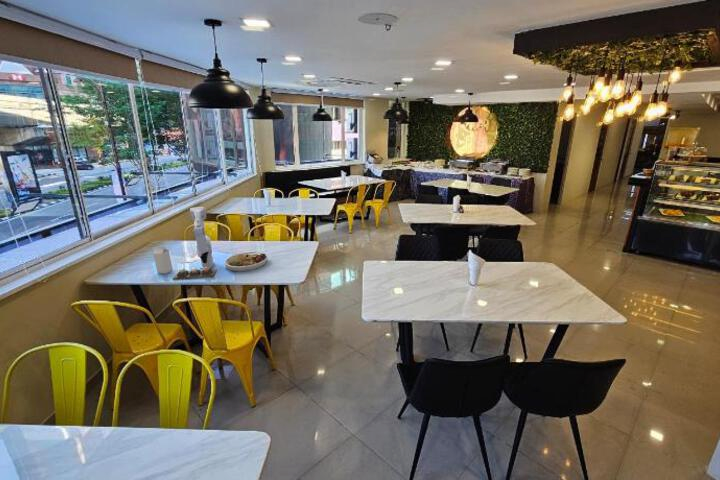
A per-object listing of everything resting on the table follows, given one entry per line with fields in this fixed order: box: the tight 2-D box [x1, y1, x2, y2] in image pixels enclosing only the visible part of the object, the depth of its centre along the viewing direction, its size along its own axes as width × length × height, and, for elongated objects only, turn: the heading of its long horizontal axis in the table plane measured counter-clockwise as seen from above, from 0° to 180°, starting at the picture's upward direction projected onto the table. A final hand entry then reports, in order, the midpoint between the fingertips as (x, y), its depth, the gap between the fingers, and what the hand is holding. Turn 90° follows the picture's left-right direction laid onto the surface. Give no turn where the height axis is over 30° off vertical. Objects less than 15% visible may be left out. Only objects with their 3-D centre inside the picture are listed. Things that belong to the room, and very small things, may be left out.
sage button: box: [178, 267, 186, 274], centre depth 243 cm, size 4×4×2 cm
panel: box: [172, 268, 218, 281], centre depth 245 cm, size 11×26×3 cm, turn 96°
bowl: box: [224, 251, 268, 273], centre depth 261 cm, size 30×30×8 cm
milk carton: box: [152, 246, 173, 274], centre depth 251 cm, size 7×7×19 cm
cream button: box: [190, 267, 198, 273], centre depth 244 cm, size 4×4×2 cm
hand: (205, 262), depth 243 cm, fingers closed
